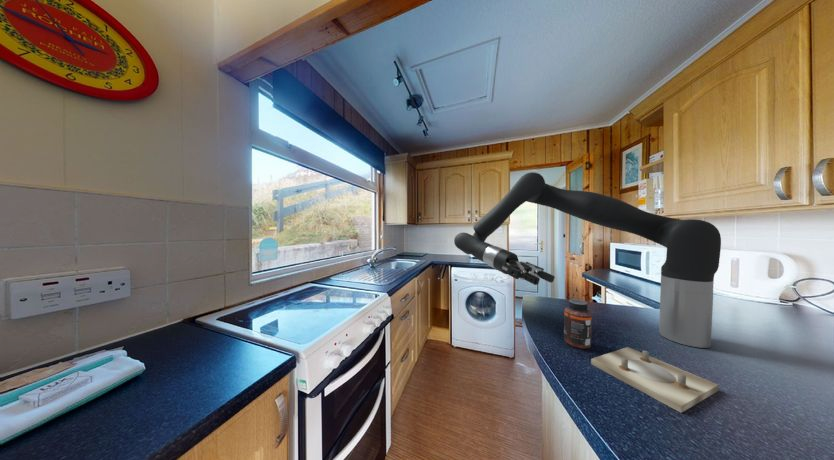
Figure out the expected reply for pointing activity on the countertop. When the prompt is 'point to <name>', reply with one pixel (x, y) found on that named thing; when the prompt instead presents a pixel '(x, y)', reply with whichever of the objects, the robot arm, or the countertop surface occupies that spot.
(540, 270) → the robot arm
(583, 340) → the supplement bottle
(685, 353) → the countertop surface
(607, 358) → the pin board
